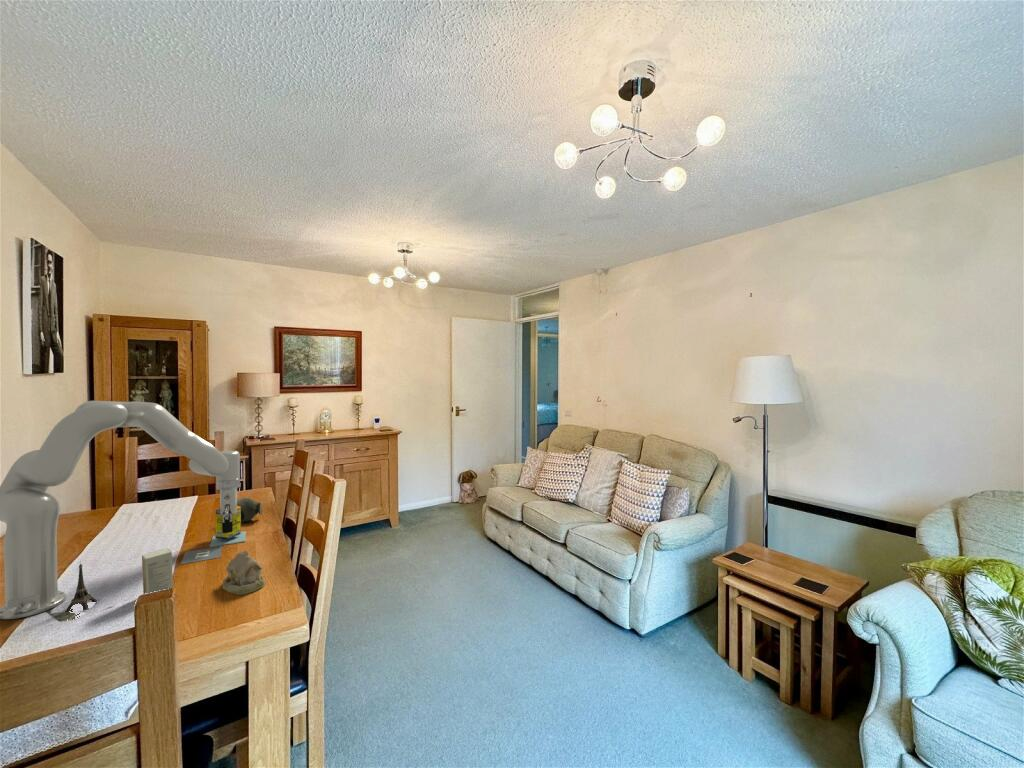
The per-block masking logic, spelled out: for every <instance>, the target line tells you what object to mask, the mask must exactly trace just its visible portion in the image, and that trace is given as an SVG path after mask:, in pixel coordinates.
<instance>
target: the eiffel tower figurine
mask: <svg viewBox="0 0 1024 768" xmlns="http://www.w3.org/2000/svg"><path fill="white" fill-rule="evenodd" d="M79 563H80V564H78V579H77V587H76V590H75V594H74V596H73V598H72V599H71V601H70V603H69V604H68V606H67V608H66V609H65V610H64V612H63V611H62V612H53V613H52V611H53V610H54V609H55V608H56V606H55V607H53V608H51V609H49V610H46V611H45V613H47V614H48V615H50V616H52V617H53V618H54V619H55V620H57V621H58V622H60V623H61V622H67V619H68V621H74V620H76V619H75V616H77V615H79V614H80V613H79V614H77V615H76V614H75V613H70V612H69V611H71V612H73V611H72V610H73V609H71V607H72V606H73V605H75V604H78V603H79V604H81V605H82V606H83V611H82V612H85V611H84V610H88V609H89V608H88V605H87V602H89V601H90V602H97V601H98V602H99V600H98V599H96V598H95V597H93V596H92V595H91V593H89V592H88V590H87V587H86V586H85V581H84V573H83V564H81V563H82V561H81V560H80V562H79ZM98 602H97V603H98ZM70 609H71V610H70ZM89 610H90V609H89ZM89 610H88V611H89ZM79 617H80V616H79ZM77 618H78V617H77ZM73 619H74V620H73ZM78 619H79V618H78Z"/></svg>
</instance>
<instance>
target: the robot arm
mask: <svg viewBox="0 0 1024 768" xmlns="http://www.w3.org/2000/svg"><path fill="white" fill-rule="evenodd" d="M132 427H135V428H140V429H142V430H143V431H145V433H146V434H148V435H149V436H150V437H152V438H153V439H154V440H155V441H157V443H159V444H160V445H162V447H163V448H165V449H167V450H168V451H171V452H172V453H176V454H178V455H181V456H182V457H186V458H187V459H189V463H188V466H189V467H188V468H189V469H190V471H192V472H193V473H195V474H198V475H204V476H209V477H216V480H215V481H216V482H215V483H216V484H215V485H216V487H215V488H216V490H219V497H220V498H219V503H220V504H219V505H220V508H221V515H222V516H223V522H222V533H229V532H232V531H233V521H232V514H236V513H237V500H238V488H239V487H240V486H241V485H240V484H241V455H240V452H239V451H237V450H223V451H220V450H219V449H217V448H216V447H215V446H214V445H213V444H212V443H210V442H208V441H206V440H205V439H204V438H202V437H200V436H199V435H197V434H196V433H194V432H193V431H191V430H190V429H188V428H187V427H186V426H185V425H184V424H183V423H182V422H181V421H179V420H178V419H177V418H176V417H175V416H174V415H172V414H171V413H170V412H169V411H168V410H167V409H166V408H165V407H164V406H163V405H161V404H159V403H155V402H148V401H147V402H146V401H116V400H115V401H113V400H110V401H108V400H89V401H84V402H83V403H81V404H79V406H77V407H76V409H75V410H74V411H73V412H72V413H70V414H68V415H66V416H65V417H63V418H62V419H61V420H60V421H58V422H57V423H56V424H55V425H54V427H52V429H51V430H50V432H49V434H48V436H47V437H46V438H45V440H44V442H43V443H42V445H41V447H40V448H39V449H37V450H31V451H28V452H26V453H24V454H22V455H21V456H20V457H18V458H17V459H16V460H15V461H14V462H13V464H12V466H11V467H10V468H9V470H8V472H7V474H6V475H5V476H4V479H3V481H2V482H1V484H0V522H2V523H5V524H6V530H5V534H4V541H3V557H4V558H3V559H4V560H3V561H4V563H3V564H4V595H5V596H4V597H5V598H4V601H5V603H4V605H2V606H0V620H15V619H21V618H25V617H30V616H33V615H38V614H40V613H43V612H46V610H49V609H51V608H53V607H55V608H56V607H57V606H58V605H60V604H62V603H63V602H64V601H65V600H66V598H67V594H66V593H65V591H61V590H58V588H59V587H58V586H59V585H58V542H57V538H58V536H57V535H58V534H57V533H58V532H57V531H58V522H59V518H60V505H59V502H58V500H57V498H55V497H54V496H53V495H52V494H51V493H48V492H47V491H48V489H49V487H57V486H60V485H62V484H64V483H66V482H67V481H68V480H69V479H70V478H71V476H72V475H73V473H74V472H75V469H76V467H77V466H78V463H79V461H80V459H81V457H82V455H83V453H84V451H85V450H86V448H87V446H88V445H89V444H90V442H91V440H92V439H94V437H95V436H97V435H99V434H100V433H101V432H104V431H106V430H107V431H108V430H113V429H115V428H132ZM229 506H230V508H229ZM220 508H219V509H220ZM229 510H231V513H229Z"/></svg>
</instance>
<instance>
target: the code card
mask: <svg viewBox="0 0 1024 768" xmlns="http://www.w3.org/2000/svg"><path fill="white" fill-rule="evenodd" d="M223 546H224V545H222V546H216V547H208V548H202V549H196V550H190V551H185V552H184V555H183V557H182V560H181V562H180V565H186V564H192V563H196V562H197V563H198V562H203V561H209V560H215V559H220V558H221V556H222V551H223Z"/></svg>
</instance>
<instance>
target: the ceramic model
mask: <svg viewBox="0 0 1024 768" xmlns="http://www.w3.org/2000/svg"><path fill="white" fill-rule="evenodd" d="M262 567H263V566H262V565H261V564H260V563H259V562H258V561H257V560H255V559H254V558H253V557H252V556H251V555H249V551H247V550H244V551H241V552H238V553H237V555H235V556H234V558H233V559H231V560H230V562H229V563H228V564H227V566H226V569H225V570H226V571H225V572H227V577H224V579H223V581H222V586H221V588H222V589H223V590H224V591H225V592H228V593H230V594H233V595H238V596H239V595H240V596H241V595H247V594H251V593H252V592H253V593H254V592H255V591H257V590H259V589H261V588H263V587H264V586H265V584H266V579H265V578H264V576H263V572H262V569H263V568H262Z"/></svg>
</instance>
